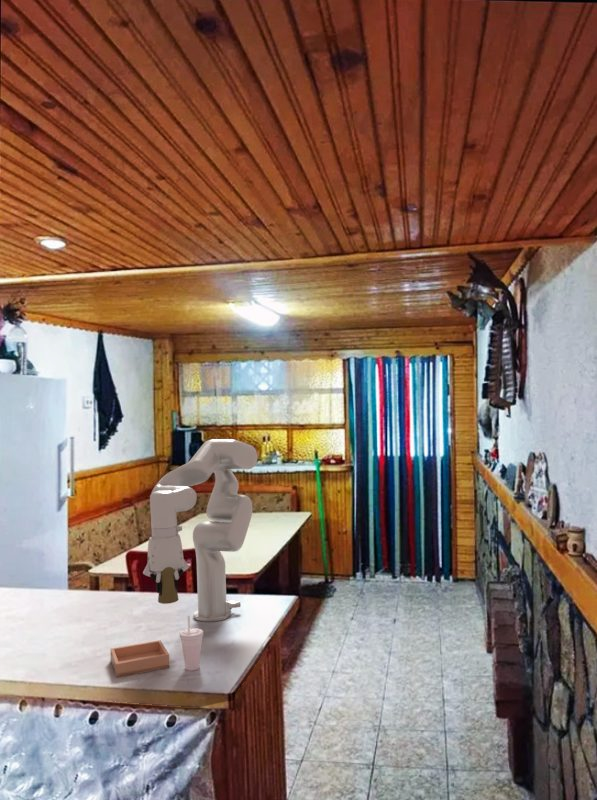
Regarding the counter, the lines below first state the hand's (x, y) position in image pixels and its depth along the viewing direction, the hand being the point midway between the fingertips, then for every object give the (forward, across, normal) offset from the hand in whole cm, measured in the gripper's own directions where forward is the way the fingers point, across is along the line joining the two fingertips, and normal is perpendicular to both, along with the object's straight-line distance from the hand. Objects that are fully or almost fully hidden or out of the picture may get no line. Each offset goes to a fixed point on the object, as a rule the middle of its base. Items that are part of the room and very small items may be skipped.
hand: (167, 592), depth 194 cm
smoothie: (+15, -2, +21) cm, 26 cm away
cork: (+3, 0, 0) cm, 3 cm away
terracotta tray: (+15, +11, +12) cm, 22 cm away
